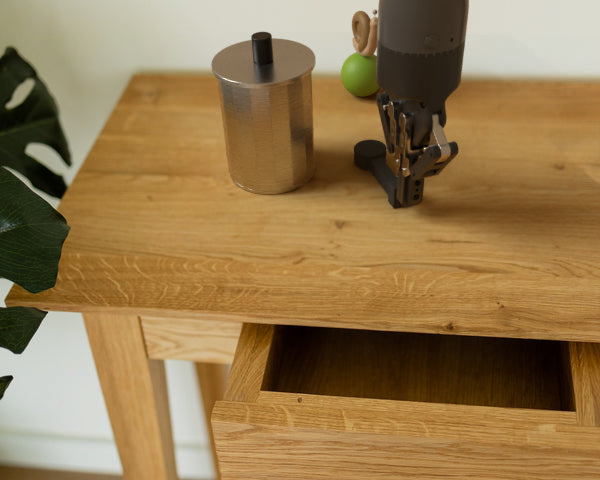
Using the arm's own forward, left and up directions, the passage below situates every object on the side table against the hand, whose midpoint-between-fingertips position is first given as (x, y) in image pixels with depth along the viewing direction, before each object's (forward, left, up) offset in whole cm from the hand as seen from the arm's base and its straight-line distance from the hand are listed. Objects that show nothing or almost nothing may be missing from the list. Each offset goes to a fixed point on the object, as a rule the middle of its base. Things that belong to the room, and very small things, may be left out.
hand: (409, 201), depth 76 cm
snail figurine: (-6, -25, -2) cm, 26 cm away
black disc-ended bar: (0, -7, -1) cm, 7 cm away
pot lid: (+10, -13, +11) cm, 20 cm away
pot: (+10, -13, -1) cm, 17 cm away
